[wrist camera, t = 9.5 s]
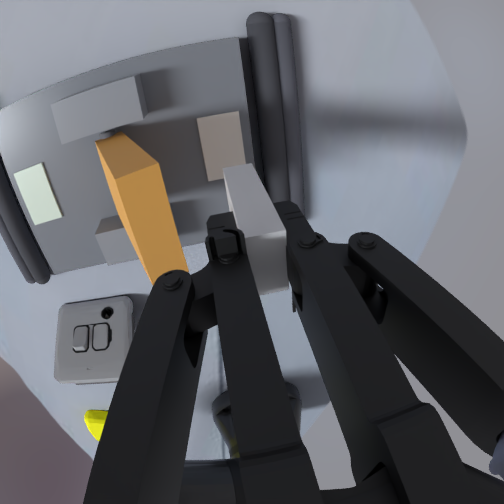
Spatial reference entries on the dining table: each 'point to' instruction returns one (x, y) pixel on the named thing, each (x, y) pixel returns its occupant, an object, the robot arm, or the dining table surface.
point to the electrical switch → (93, 340)
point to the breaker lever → (141, 203)
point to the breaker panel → (139, 131)
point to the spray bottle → (95, 422)
